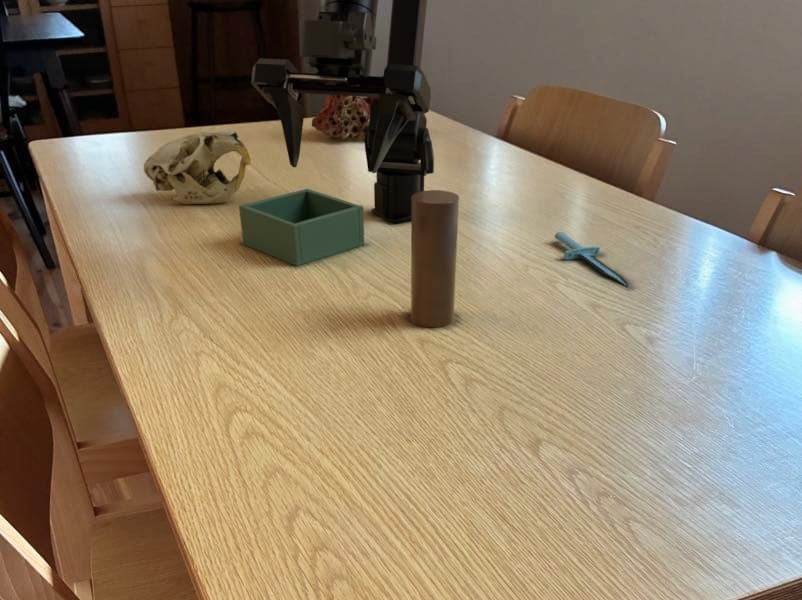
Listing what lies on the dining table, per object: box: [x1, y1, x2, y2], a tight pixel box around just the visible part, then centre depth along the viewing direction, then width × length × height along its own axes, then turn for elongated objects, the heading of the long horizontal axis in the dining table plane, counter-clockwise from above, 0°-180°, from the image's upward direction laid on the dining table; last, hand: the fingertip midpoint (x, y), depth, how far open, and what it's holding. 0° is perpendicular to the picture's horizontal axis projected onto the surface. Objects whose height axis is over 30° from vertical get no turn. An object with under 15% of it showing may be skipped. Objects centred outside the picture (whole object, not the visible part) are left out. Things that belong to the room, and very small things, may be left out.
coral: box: [311, 74, 384, 141], centre depth 155 cm, size 18×13×15 cm
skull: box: [143, 129, 251, 205], centre depth 121 cm, size 10×16×10 cm, turn 78°
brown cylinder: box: [410, 189, 460, 328], centre depth 86 cm, size 5×5×13 cm
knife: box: [554, 231, 629, 288], centre depth 103 cm, size 17×1×5 cm
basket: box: [238, 188, 365, 267], centre depth 107 cm, size 12×12×5 cm
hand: (332, 169), depth 88 cm, fingers open, 9 cm apart
